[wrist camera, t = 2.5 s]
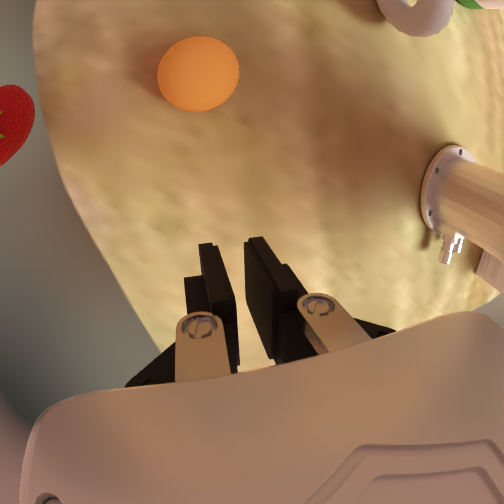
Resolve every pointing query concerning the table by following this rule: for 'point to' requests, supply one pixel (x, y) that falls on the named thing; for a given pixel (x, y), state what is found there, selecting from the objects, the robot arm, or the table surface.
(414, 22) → the donut
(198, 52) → the ball
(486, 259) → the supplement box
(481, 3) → the wine bottle
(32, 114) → the strawberry
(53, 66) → the table surface
